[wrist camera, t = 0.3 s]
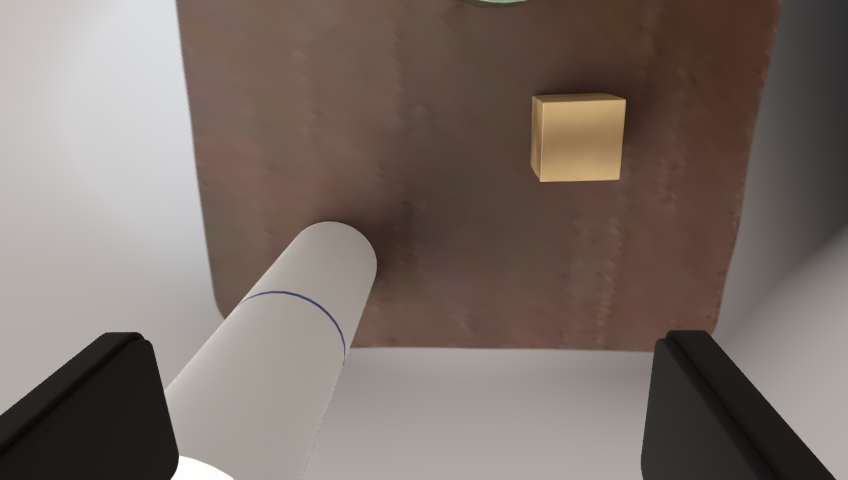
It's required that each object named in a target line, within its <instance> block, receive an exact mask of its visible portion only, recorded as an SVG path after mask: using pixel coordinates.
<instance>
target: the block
mask: <svg viewBox="0 0 848 480" xmlns="http://www.w3.org/2000/svg"><path fill="white" fill-rule="evenodd" d="M625 108H626V99H623V98H620V97H616V96H613V95H610V94H607V93H585V94H559V95H534V96H533V97H532V132H531V167H532V168H533V170H534V172H535V173H536V175H537V177H538V178H539V180H540V182H555V181H592V180H619V178H620V167H621V155H622V143H623V132H624V120H625Z"/></svg>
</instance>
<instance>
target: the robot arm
mask: <svg viewBox="0 0 848 480" xmlns="http://www.w3.org/2000/svg"><path fill="white" fill-rule="evenodd" d="M178 463H179V451H178V447H177V443H176V439H175V435H174V431H173V427H172V423H171V419H170V415H169V411H168V406H167V402H166V398H165V394H164V390H163V386H162V383H161V378H160V374H159V370H158V366H157V362H156V358H155V354H154V350H153V346H152V344H151V343H150V342H149V341H148V340H145V339H144V337H143V336H142V335H141V334H140V333H137V332H109V333H105V334H103V335H101V336H100V337H99V338H97V339H96V340H95V341H93V342H92V343H91V344H90V345H88V346H87V347H86V348H85V349H83V350H82V351H81V352H80V353H78V354H77V355H76V356H75V357H73V358H72V359H71V360H69V361H68V362H67V363H66V364H65V365H63V366H62V367H61V368H59V369H58V370H57V371H56V372H54V373H53V374H52V375H51V376H49V377H48V378H47V379H46V380H44V381H43V382H42V383H41V384H39V385H38V386H37V387H36V388H34V389H33V390H32V391H31V392H29V393H28V394H27V395H26V396H25V397H23V398H22V399H21V400H19V401H18V402H17V403H16V404H14V405H13V406H12V407H11V408H9V409H8V410H7V411H6V412H4V413H3V414H2V415H0V480H171V479H172V477H173V476H174V474H175V472H176V470H177V467H178ZM641 471H642V476H643V480H836V479H835V478H834V477H833V475H832V474H831V473H830V472H829V471H828V470H827V469H826V467H825V466H824V465H823V464H822V463H821V462H820V461H819V459H818V458H817V457H816V456H815V455H814V454H813V453H812V451H811V450H810V449H809V448H808V447H807V446H806V445H805V443H804V442H803V441H802V440H801V439H800V438H799V437H798V435H797V434H796V433H795V432H794V431H793V430H792V429H791V427H789V425H788V424H787V423H786V422H785V421H784V419H783V418H782V417H781V416H780V415H779V414H778V413H777V412H776V410H775V409H774V408H773V407H772V406H771V405H770V403H769V402H768V401H767V400H766V399H765V398H764V397H763V395H762V394H761V393H760V392H759V391H758V390H757V389H756V387H754V385H753V384H752V383H751V382H750V381H749V380H748V378H747V377H746V376H745V375H744V374H743V373H742V372H741V370H740V369H739V368H738V367H737V366H736V365H735V363H734V362H733V361H732V360H731V359H730V358H729V357H728V355H727V354H726V353H725V352H724V351H723V350H722V349H721V347H719V345H718V344H717V343H716V342H715V341H714V339H713V338H712V337H711V336H710V335H709V334H708V333H707V332H706V331H703V330H670V331H669V332H668V333H667V335H666V337H665V339H658V340H657V341H656V344H655V350H654V358H653V366H652V374H651V382H650V390H649V398H648V406H647V414H646V422H645V430H644V438H643V446H642V454H641Z"/></svg>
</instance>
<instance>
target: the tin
mask: <svg viewBox="0 0 848 480" xmlns="http://www.w3.org/2000/svg"><path fill="white" fill-rule="evenodd" d="M461 1H464V2H467V3H470V4H473V5H475V6H478V7H501V6H514V5H517V4H519V3H521V2H517V3H509V4H502V3H487V2H481V1H476V0H461Z"/></svg>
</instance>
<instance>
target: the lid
mask: <svg viewBox="0 0 848 480" xmlns="http://www.w3.org/2000/svg"><path fill="white" fill-rule="evenodd" d="M476 1H481V2H487V3H502V4H509V3H517V2H524V1H528V0H476Z"/></svg>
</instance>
